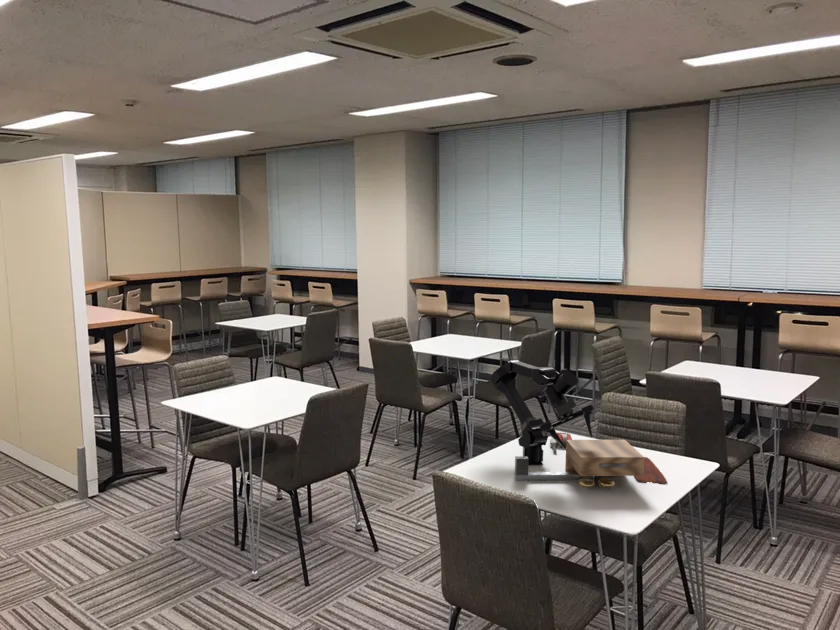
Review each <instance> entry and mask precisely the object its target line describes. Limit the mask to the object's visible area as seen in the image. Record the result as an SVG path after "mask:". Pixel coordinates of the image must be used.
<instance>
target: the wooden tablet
mask: <svg viewBox="0 0 840 630" xmlns="http://www.w3.org/2000/svg"><path fill="white" fill-rule="evenodd" d="M660 471H661V470H660V469H659V468H658V467H657V466H656V465H655V463H654V462H653V461H652V460H651V459H650V458H649V457H647V456H644V475H643V476H634V478H635V480H636V481H637V482H638V483H640V482H641V484H647V482H649V483H651V482H652V483H651V484H655V483H659V484H658V485H667V484H668V480H667V479H666V477H665V476H664V474H663V473H662V472H660ZM666 483H667V484H666Z"/></svg>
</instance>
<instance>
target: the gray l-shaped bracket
mask: <svg viewBox="0 0 840 630" xmlns="http://www.w3.org/2000/svg"><path fill="white" fill-rule="evenodd" d="M528 462H529V459H528V457H527V456H523V455H522V456H516V455H515V456H514V480H515V482H516V481H526V482H579V480H580V479H584V478H586V479H591V480H593V481H594V482H595V476H580V475H579V474H578V472H565V471H529V465H528Z"/></svg>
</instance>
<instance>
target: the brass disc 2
mask: <svg viewBox="0 0 840 630" xmlns="http://www.w3.org/2000/svg"><path fill="white" fill-rule="evenodd" d="M597 483H598V484H597V485H598V486H599V487H601V488H606V489H607V488H608V489H609V488H610V489H611V488H613V487H615V480H613V479H611V478H606V477H605V478H604V477H603V478H599V479H598V482H597Z"/></svg>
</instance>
